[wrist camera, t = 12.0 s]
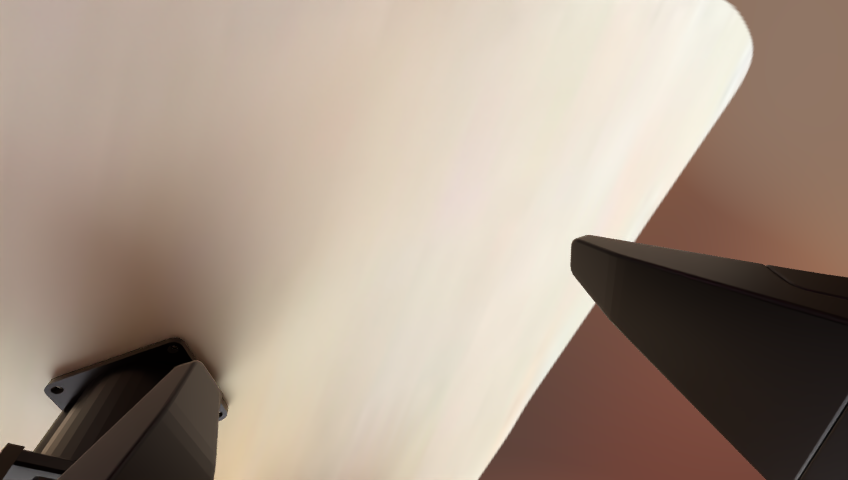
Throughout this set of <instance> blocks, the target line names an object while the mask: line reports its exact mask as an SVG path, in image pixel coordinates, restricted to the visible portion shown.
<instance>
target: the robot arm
mask: <svg viewBox="0 0 848 480" xmlns="http://www.w3.org/2000/svg"><path fill="white" fill-rule="evenodd" d="M570 266H571V271H572V273H573V275H574V276H575V278H576V279H577V280H578V281H579V283H580V284H581V285H582V286H583V288H584V289H585V290H586V291H587V293H588V294H589V295H590V296H591V298H592V299H593V300H594V301H595V303H596V304H597V305H598V306H599V308H600V309H601V310H602V311H603V312H604V314H605V315H606V316H607V317H608V318H609V320H610V321H611V322H612V323H613V324H614V325H615V326H616V327H617V328H618V329H619V330H620V331H621V332H622V333H623V334H624V335H625V336H626V337H627V338H628V339H629V340H630V341H631V342H632V343H633V344H634V345H635V346H636V348H637V349H638V350H639V351H640V352H641V353H642V354H643V355H644V356H645V357H646V358H647V359H648V360H649V361H650V362H651V363H652V364H653V365H654V366H655V367H656V368H657V369H658V370H659V371H660V372H661V373H662V374H663V375H664V376H665V377H666V378H667V379H668V380H669V381H670V382H671V383H672V384H673V385H674V386H675V387H676V388H677V389H678V390H679V391H680V392H681V393H682V394H683V395H684V396H685V398H686V399H687V400H688V401H689V402H690V403H691V404H692V405H693V406H694V407H695V408H696V409H697V410H698V411H699V412H700V413H701V414H702V415H703V416H704V417H705V418H706V419H707V420H708V421H709V422H710V423H711V424H712V425H713V426H714V427H715V428H716V429H717V430H718V431H719V432H720V433H721V434H722V435H723V436H724V437H725V438H726V439H727V440H728V441H729V442H730V443H731V444H732V445H733V446H734V447H735V449H736V450H738V452H739V453H740V454H741V455H742V456H743V457H744V458H745V459H746V460H747V461H748V462H749V463H750V464H751V465H752V466H753V467H754V468H755V469H756V470H757V471H758V472H759V473H760V474H761V475H762V476H763V477H764V478H765V479H766V480H848V277H841V276H834V275H826V274H820V273H814V272H807V271H802V270H795V269H789V268H783V267H777V266H771V265H766V266H765V265H763V264H759V263H753V262H747V261H741V260H735V259H729V258H723V257H717V256H712V255H706V254H699V253H693V252H688V251H682V250H676V249H669V248H664V247H658V246H652V245H646V244H640V243H634V242H628V241H623V240H617V239H611V238H605V237H599V236H593V235H585V236H582V237H579V238H576V239H574V240H573V242H572V244H571V264H570ZM170 346H177V347H178V348H177V349H173V348H171V347H170ZM56 386H60V387H62V388H58V387H56ZM44 392H45V393H46V395H47V396H48V397H49V398H50V399H51V400H52V401H53V402H54V403H55V404H56V405H57V406H58V407H59V408H60V409H61V410H62V412H61V413H60V415H59V416H58V418H57V419H56V420H55V422H54V423H53V425H52V426H51V427H50V429H49V430H48V432H47V433H46V434H45V436H44V437H43V439H42V440H41V441H40V443H39V444H38V445H37V447H36V448H35V450H34V451H33V452H32V451H27V450H23V449H24V448H25V447H24V446H19V445H15V444H11V443H8V444H7V445H6V446H5V447H4V448H3V449H2V450H1V451H0V480H214V473H215V466H216V455H217V438H218V421H220V420H222V419H224V418H225V417H226V416H227V412H228V406H227V405H226V403H225V402H224V400H223V399H222V396H223V393H222V392H221V390H220V389H219V387H218V385H217V384H216V382H215V381H214V379H213V378H212V376H211V375H210V373H209V372H208V370H207V369H206V367H205V366H204V364H203V363H202V362H201V361H198V360H197V359H196V358H195V356H194V355H193V353H192V352H191V350H190V349H189V347H188V346H187V344H186V343H185V341H184V340H183V339H180V338H170V339H167V340H164V341H161V342H158V343H155V344H153V345H150V346H147V347H144V348H141V349H138V350H135V351H132V352H129V353H126V354H123V355H120V356H118V357H115V358H112V359H109V360H106V361H103V362H100V363H97V364H94V365H91V366H88V367H85V368H83V369H80V370H77V371H74V372H71V373H68V374H65V375H62V376H59V377H56V378H54V379H52V380H51V381H50V382H49V384H48V385H47V386H46V387H45V389H44ZM219 412H220V413H219Z"/></svg>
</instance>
